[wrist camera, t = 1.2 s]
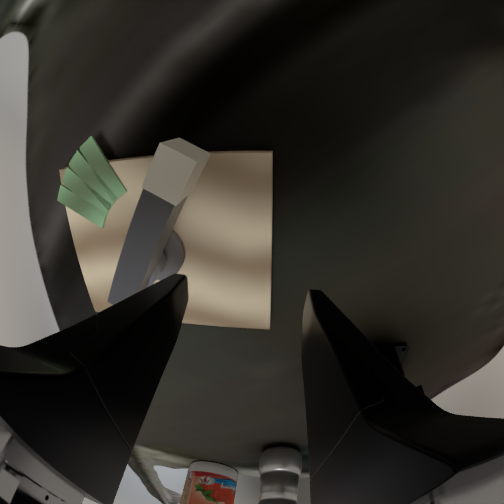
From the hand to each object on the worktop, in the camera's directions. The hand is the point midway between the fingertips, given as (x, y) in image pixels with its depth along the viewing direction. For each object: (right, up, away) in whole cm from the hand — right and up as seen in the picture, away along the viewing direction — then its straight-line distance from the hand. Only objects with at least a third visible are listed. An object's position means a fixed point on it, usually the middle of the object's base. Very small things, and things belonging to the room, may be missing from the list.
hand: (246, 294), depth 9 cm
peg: (-5, +4, +9) cm, 11 cm away
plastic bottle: (+5, -29, +28) cm, 40 cm away
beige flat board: (-7, +3, +13) cm, 15 cm away
